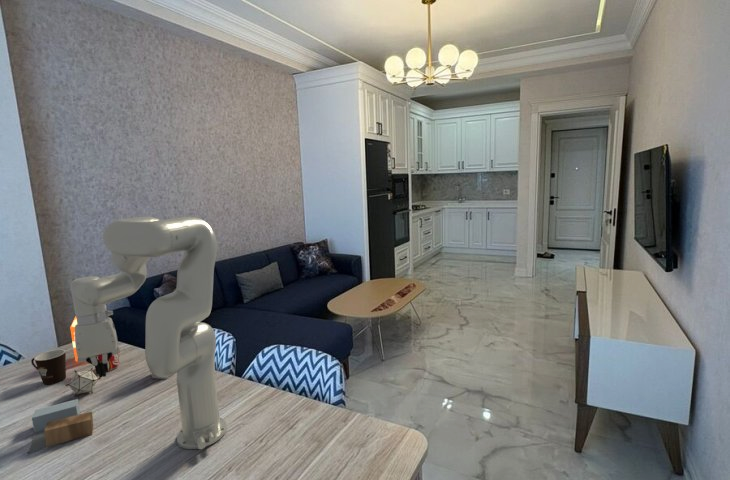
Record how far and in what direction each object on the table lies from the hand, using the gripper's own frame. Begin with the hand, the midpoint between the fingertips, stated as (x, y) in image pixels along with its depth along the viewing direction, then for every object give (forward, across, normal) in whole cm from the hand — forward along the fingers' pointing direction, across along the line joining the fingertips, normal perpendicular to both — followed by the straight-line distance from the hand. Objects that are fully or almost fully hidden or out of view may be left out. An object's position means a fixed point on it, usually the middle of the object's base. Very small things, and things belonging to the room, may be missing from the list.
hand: (102, 375), depth 115 cm
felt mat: (+11, +13, +2) cm, 18 cm away
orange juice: (+10, +7, -49) cm, 51 cm away
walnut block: (+10, +4, +9) cm, 14 cm away
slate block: (+9, +8, -1) cm, 12 cm away
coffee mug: (+10, +18, -35) cm, 41 cm away
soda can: (+11, +1, -33) cm, 35 cm away
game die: (+11, +7, -17) cm, 22 cm away
